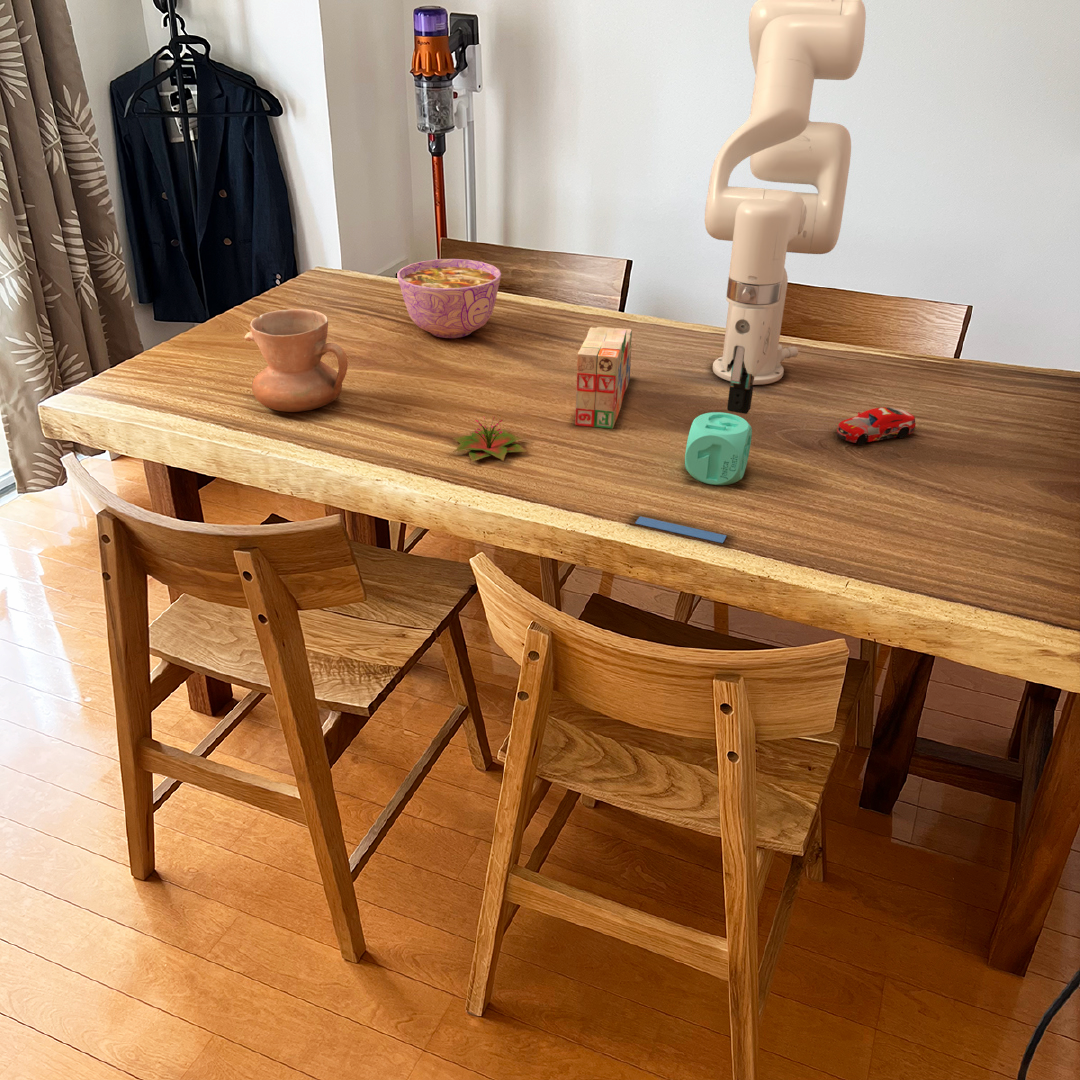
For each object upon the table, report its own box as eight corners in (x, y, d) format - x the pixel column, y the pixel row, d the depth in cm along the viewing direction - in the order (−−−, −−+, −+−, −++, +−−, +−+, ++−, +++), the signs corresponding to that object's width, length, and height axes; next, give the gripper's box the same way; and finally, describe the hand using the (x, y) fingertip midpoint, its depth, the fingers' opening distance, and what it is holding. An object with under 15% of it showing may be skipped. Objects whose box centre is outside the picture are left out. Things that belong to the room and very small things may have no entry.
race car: (848, 448, 151) (852, 425, 149) (828, 434, 156) (832, 411, 154) (919, 436, 155) (924, 413, 153) (897, 422, 159) (902, 400, 157)
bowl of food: (499, 350, 186) (498, 289, 180) (393, 348, 186) (389, 288, 180) (504, 315, 203) (503, 259, 197) (407, 313, 203) (404, 257, 197)
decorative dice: (682, 480, 142) (687, 429, 138) (695, 456, 148) (700, 408, 144) (737, 490, 139) (744, 439, 135) (747, 466, 146) (754, 416, 142)
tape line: (635, 523, 131) (635, 523, 131) (639, 516, 133) (639, 516, 133) (722, 543, 127) (722, 542, 127) (726, 536, 129) (726, 535, 128)
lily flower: (465, 472, 143) (464, 444, 141) (439, 439, 152) (437, 412, 150) (540, 458, 147) (541, 430, 145) (510, 427, 156) (510, 400, 154)
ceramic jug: (230, 411, 160) (216, 327, 153) (280, 380, 172) (269, 300, 164) (327, 429, 155) (317, 343, 148) (371, 395, 167) (364, 314, 159)
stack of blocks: (595, 376, 175) (598, 309, 169) (630, 379, 174) (634, 311, 168) (574, 425, 157) (577, 352, 151) (613, 429, 156) (617, 355, 150)
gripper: (768, 308, 133) (751, 433, 142) (790, 281, 144) (773, 398, 154) (714, 301, 135) (701, 424, 144) (740, 275, 147) (726, 390, 156)
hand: (738, 410), depth 149 cm, fingers closed
